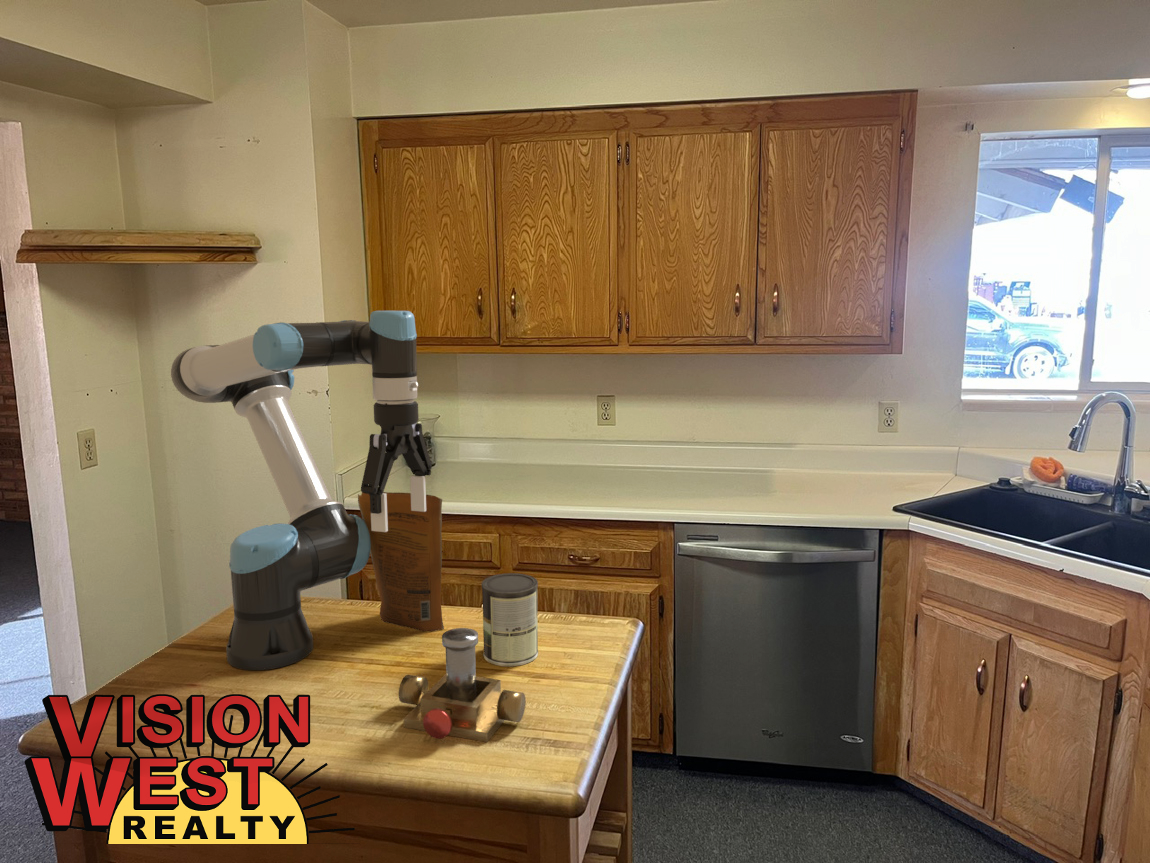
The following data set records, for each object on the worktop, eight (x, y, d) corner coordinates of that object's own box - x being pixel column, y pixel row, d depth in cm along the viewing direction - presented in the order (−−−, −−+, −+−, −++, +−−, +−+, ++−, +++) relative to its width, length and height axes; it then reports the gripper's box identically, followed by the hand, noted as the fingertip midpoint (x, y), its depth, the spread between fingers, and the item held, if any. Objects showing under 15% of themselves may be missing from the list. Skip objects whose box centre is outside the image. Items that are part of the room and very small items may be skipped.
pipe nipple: (437, 712, 127) (435, 640, 125) (453, 695, 133) (451, 626, 131) (470, 717, 126) (468, 644, 124) (485, 700, 131) (483, 630, 129)
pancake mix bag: (435, 639, 158) (431, 499, 153) (360, 621, 167) (354, 488, 162) (456, 626, 164) (452, 491, 159) (382, 610, 172) (377, 481, 168)
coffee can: (471, 656, 150) (469, 583, 148) (510, 638, 158) (509, 569, 156) (511, 672, 144) (510, 596, 142) (549, 652, 152) (549, 580, 150)
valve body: (378, 732, 124) (376, 701, 123) (423, 689, 138) (422, 660, 137) (499, 754, 118) (498, 721, 117) (534, 707, 132) (533, 677, 131)
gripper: (376, 411, 127) (381, 542, 131) (448, 393, 150) (451, 504, 154) (334, 409, 129) (341, 538, 133) (411, 392, 153) (415, 501, 156)
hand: (400, 520), depth 143 cm, fingers open, 13 cm apart
